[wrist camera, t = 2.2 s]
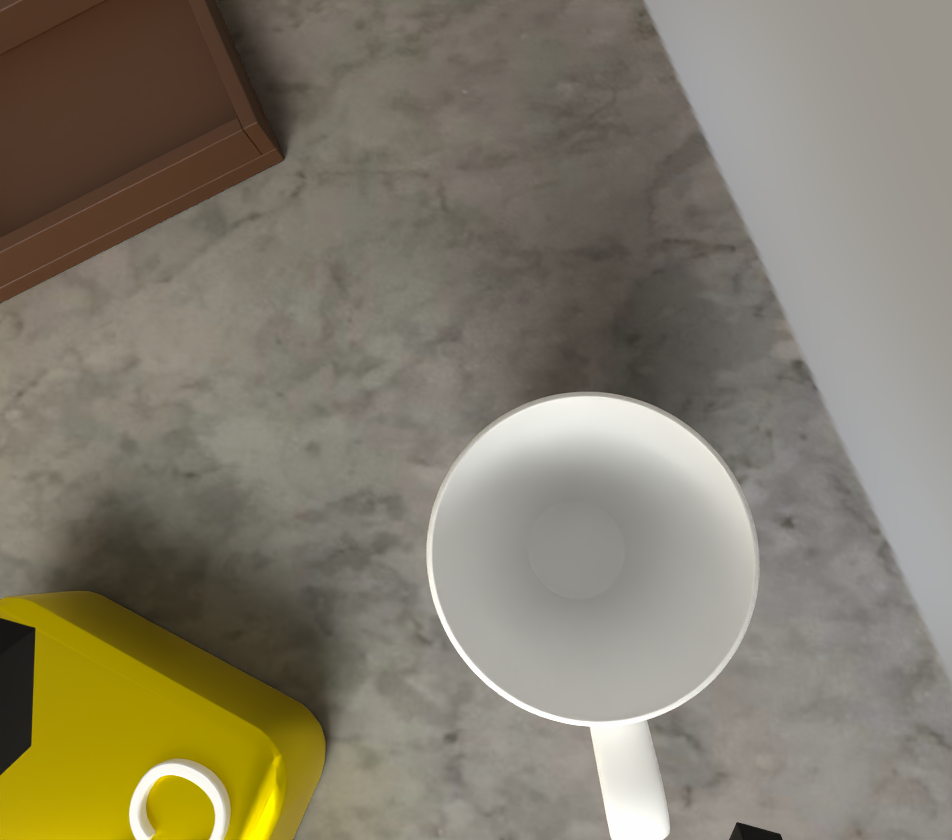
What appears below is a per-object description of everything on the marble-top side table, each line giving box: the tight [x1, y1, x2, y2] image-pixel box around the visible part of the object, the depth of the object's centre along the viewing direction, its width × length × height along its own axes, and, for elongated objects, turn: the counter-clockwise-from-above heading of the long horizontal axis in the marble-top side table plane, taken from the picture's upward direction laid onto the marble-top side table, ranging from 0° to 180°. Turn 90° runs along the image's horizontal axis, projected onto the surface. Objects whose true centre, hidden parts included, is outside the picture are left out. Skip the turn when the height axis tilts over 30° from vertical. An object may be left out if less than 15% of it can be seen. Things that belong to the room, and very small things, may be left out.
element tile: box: [0, 591, 326, 840], centre depth 24 cm, size 15×15×5 cm
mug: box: [427, 392, 760, 840], centre depth 20 cm, size 12×8×11 cm
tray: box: [0, 0, 284, 303], centre depth 33 cm, size 18×15×3 cm
